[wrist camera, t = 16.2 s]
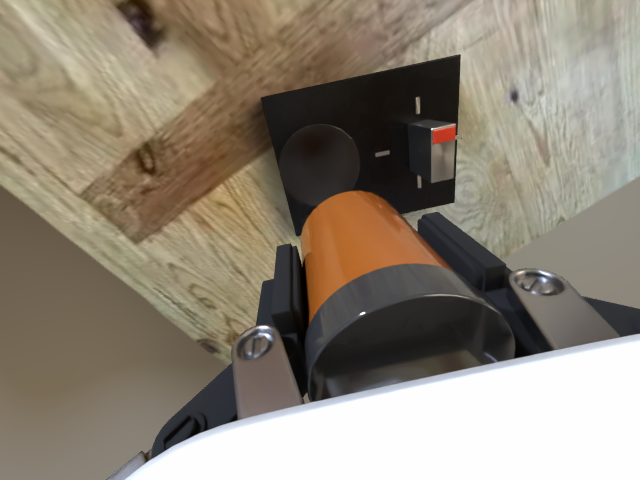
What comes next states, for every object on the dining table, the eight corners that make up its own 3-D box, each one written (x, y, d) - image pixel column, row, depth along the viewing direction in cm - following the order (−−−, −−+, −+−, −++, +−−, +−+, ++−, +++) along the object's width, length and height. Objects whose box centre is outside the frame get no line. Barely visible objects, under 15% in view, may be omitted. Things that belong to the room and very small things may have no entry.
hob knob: (428, 166, 28) (455, 179, 24) (409, 170, 28) (432, 184, 24) (428, 119, 26) (457, 123, 21) (407, 123, 26) (432, 128, 21)
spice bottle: (406, 272, 14) (502, 416, 8) (310, 292, 14) (327, 454, 8) (401, 177, 12) (534, 270, 5) (286, 202, 12) (282, 325, 5)
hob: (446, 195, 33) (458, 202, 30) (296, 227, 33) (296, 237, 30) (450, 57, 26) (466, 52, 24) (262, 97, 26) (260, 97, 24)
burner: (363, 196, 29) (364, 197, 29) (290, 212, 29) (290, 213, 29) (353, 115, 25) (354, 115, 25) (269, 133, 25) (269, 133, 25)
